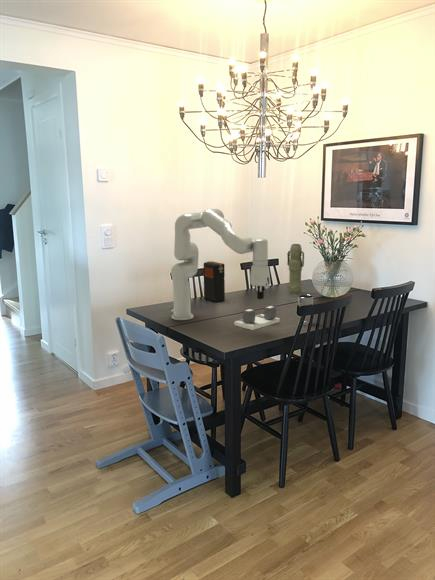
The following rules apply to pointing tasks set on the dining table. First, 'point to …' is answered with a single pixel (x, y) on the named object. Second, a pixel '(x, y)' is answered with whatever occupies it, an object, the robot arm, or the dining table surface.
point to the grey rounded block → (248, 316)
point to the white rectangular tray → (256, 322)
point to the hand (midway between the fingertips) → (260, 298)
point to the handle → (269, 312)
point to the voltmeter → (214, 281)
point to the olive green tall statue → (295, 269)
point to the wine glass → (305, 301)
